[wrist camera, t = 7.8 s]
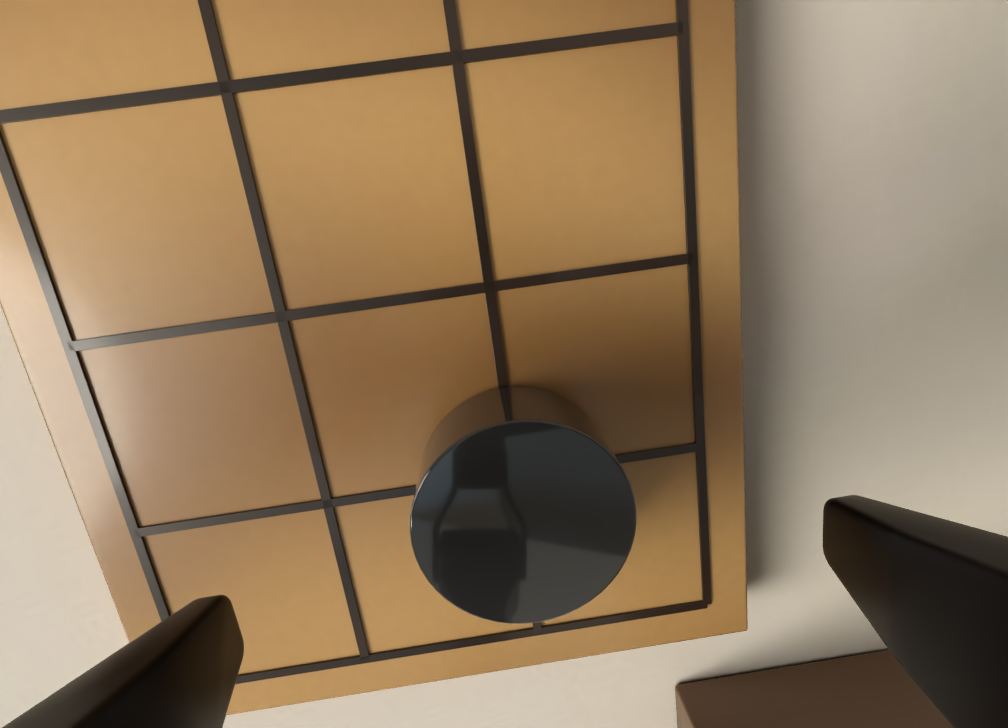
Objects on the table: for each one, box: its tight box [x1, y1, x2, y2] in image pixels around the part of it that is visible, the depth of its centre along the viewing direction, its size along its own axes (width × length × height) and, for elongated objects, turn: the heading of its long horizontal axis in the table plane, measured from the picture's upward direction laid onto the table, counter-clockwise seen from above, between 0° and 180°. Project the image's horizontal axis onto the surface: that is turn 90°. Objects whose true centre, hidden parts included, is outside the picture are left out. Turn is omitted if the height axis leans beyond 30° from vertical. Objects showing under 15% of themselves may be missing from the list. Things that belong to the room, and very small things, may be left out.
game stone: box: [410, 386, 637, 624], centre depth 10 cm, size 4×4×2 cm
